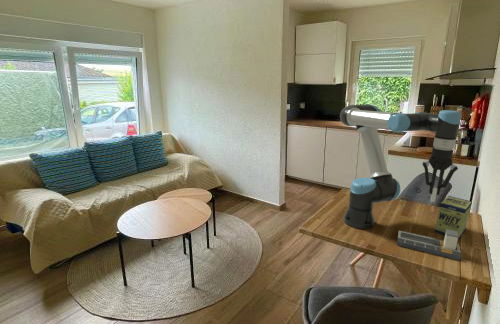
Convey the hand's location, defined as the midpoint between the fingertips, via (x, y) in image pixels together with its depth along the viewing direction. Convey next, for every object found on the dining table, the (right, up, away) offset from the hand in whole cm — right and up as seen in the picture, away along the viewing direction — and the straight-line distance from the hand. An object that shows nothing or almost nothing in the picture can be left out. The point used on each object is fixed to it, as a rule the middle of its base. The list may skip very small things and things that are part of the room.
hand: (432, 200), depth 129 cm
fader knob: (+8, -20, +1) cm, 22 cm away
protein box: (+21, -18, +20) cm, 34 cm away
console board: (+1, -21, +5) cm, 22 cm away
